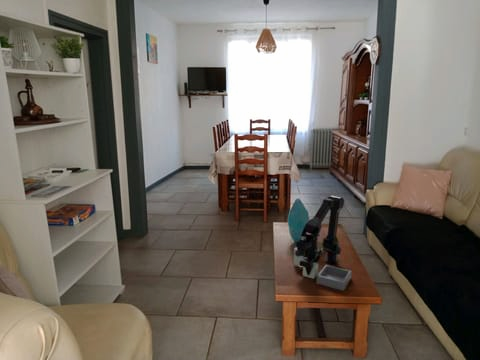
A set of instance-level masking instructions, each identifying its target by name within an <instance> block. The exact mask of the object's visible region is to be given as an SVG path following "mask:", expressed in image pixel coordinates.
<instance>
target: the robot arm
mask: <svg viewBox="0 0 480 360" xmlns="http://www.w3.org/2000/svg"><path fill="white" fill-rule="evenodd" d="M344 205H345V199H344V197H343V196H342V197H341V196H338V195H330V196H327V197H326V198H323V200H322V204H321V205H320V207H319V208H318V210H317V211H316V213H315V215H314V217H312V218H311V219H310V218H309V221H308V222H307V224H306V225H305V227H304V229H303V232H302V234H301V236H303V237H302V238H301V239H300V241H298V242H296V244H295V248H297V250H296V251H295V255H296V256H297V257H299V256H304V257H307V259H304V258H303V259H302V260H301V261H300V264H299V265H300V266H303V267H305V269H306V272H307V275H310V272H311V270H312V268H313V266H314V265H313V262H314V263H318V264H319V261H320V259H321V257H322V255H323V251H324V252H326V259H325V260H324V263H326V264H330V265H331V264H332V265H337V263H338V262H339V259H338V255H340V254H341V251H342V248H341V247H340V245H339V240H338V236H337V233H338V226H339V220H340V219H339V218H340V212H341V211H342V210H343V208H344ZM329 212H330V213H329ZM328 213H329V221H328V228H327V235H326V237H323V239H322V248H323V251H322V250H321V249H319V246H318V238H319V237H320V232H321V230H322V224H323V221H324V220H325V218H326V216H327V214H328ZM303 267H302V268H303Z"/></svg>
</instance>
